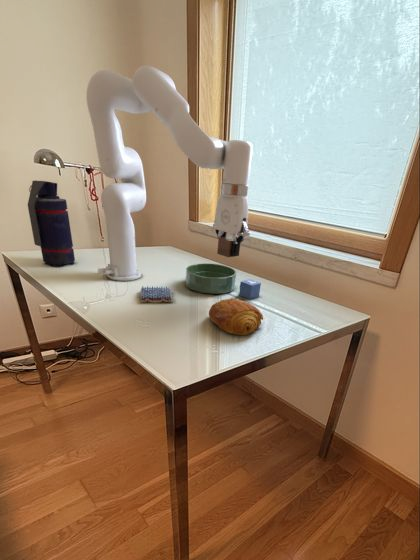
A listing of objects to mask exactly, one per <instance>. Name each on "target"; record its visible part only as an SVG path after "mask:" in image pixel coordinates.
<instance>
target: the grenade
mask: <svg viewBox="0 0 420 560" xmlns="http://www.w3.org/2000/svg"><path fill="white" fill-rule="evenodd" d="M28 190H29V197H28V200H27V209H28V215H29V221H30V226H31V231H32V236H33V237H32V238H33V243H34V245H35V246H37V247H39V248H40V251H41V256H42V261H43V263H44V264H50V265H52V266H53V267H54V268H60V267H61V266H62V265H69V264H71V265H74V264H75V261H76V258H75V257H76V256H75V251H74V248H73V247H74V243H73V237H72V230H71V223H70V217H69V211H68V203H67V200H66V199H65V198H60V196H59V195H58V183H57V182H52V181H46V180H32V181H31V185H30V186H29V189H28Z"/></svg>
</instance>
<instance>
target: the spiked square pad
mask: <svg viewBox="0 0 420 560" xmlns="http://www.w3.org/2000/svg"><path fill="white" fill-rule="evenodd" d="M139 299H140V303H146V302H149V303H162V302H164V303H173V301H174V300H173V299H174V298H173V295H172V289H171V288H170V287H168V286H165V287H163V286H159V287H158V286H151V287H149V286H145V287H144V286H143V285H142V286H141V287H140V295H139Z"/></svg>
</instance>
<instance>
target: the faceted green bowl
mask: <svg viewBox="0 0 420 560" xmlns="http://www.w3.org/2000/svg"><path fill="white" fill-rule="evenodd" d="M237 276H238V275H237V270H236V269H234V268H233V267H231V266H227V265H224V264H218V263H205V262H204V263H194V264H191V265H188V266H187V267H186V268H185V286H186V287H187V288H188V289H190V290H192V291H195V292H198V293H202V294H210V295H211V294H212V295H213V294H214V295H215V294H227V293H230V292H232V291H234V290H235V288H236V282H237Z"/></svg>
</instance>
